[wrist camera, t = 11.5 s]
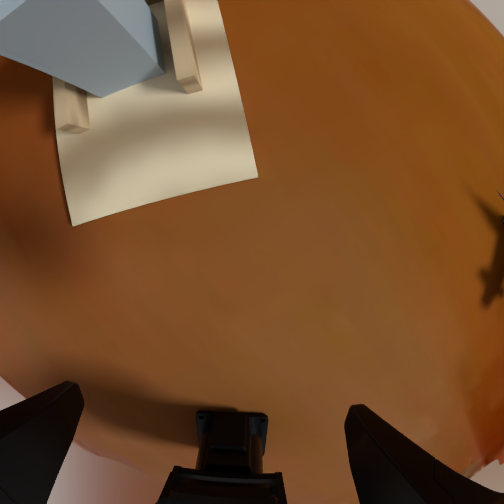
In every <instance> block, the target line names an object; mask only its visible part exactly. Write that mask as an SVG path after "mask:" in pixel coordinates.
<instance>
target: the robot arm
mask: <svg viewBox="0 0 504 504" xmlns="http://www.w3.org/2000/svg"><path fill="white" fill-rule="evenodd" d="M83 408H84V399H83V396H82V393H81V391H80V388H79V385H78V384H77V383H75V382H71V381H65V382H63V383H61V384H58V385H56V386H54V387H52V388H50V389H48V390H46V391H43V392H41V393H39V394H37V395H35V396H32V397H30V398H28V399H26V400H24V401H22V402H19V403H17V404H15V405H12V406H10V407H8V408H6V409H3V410H1V411H0V504H47V501H48V498H49V496H50V493H51V490H52V488H53V485H54V483H55V480H56V478H57V475H58V473H59V470H60V468H61V466H62V463H63V461H64V459H65V456H66V454H67V452H68V450H69V447H70V445H71V443H72V440H73V438H74V435H75V432H76V429H77V426H78V422H79V419H80V416H81V413H82V411H83ZM200 415H201V416H200ZM196 424H197V432H198V440H199V451H198V457H197V462H196V468H195V469H190V468H182V467H181V466H174V468H173V470H172V472H170V474H169V477H168V479H167V481H166V483H165V486H164V488H163V490H162V493H161V495H160V497H159V499H158V501H157V502H156V503H155V504H287V500H286V494H285V489H284V483H283V477H282V472H275V473H263V464H262V456H263V455H264V452H265V444H266V435H267V426H268V416H267V415H265V414H242V413H223V412H210V411H198V412H197V413H196ZM344 429H345V435H346V442H347V449H348V456H349V463H350V468H351V472H352V476H353V480H354V483H355V487H356V491H357V495H358V498H359V502H360V504H504V493H499V492H496V491H493V490H490V489H488V488H486V487H484V486H482V485H480V484H478V483H476V482H474V481H472V480H470V479H468V478H466V477H464V476H463V475H461V474H459V473H457V472H455V471H454V470H452V469H451V468H449V467H448V466H446V465H445V464H443V463H442V462H440V461H439V460H437V459H435V458H434V457H433V456H432V455H430V454H429V453H428V452H426V451H425V450H423V449H422V448H421V447H419V446H418V445H417V444H415V443H414V442H412V441H411V440H410V439H408V438H407V437H406V436H404V435H403V434H402V433H400V432H399V431H398V430H396V429H395V428H394V427H392V426H391V425H390V424H389V423H387V422H386V421H385V420H383V419H382V418H381V417H379V416H378V415H377V414H376V413H374V412H373V411H372V410H370V409H369V408H368V407H367V406H365V405H364V404H356V405H351V406H350V408H349V411H348V414H347V417H346V420H345V424H344Z"/></svg>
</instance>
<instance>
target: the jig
mask: <svg viewBox="0 0 504 504" xmlns="http://www.w3.org/2000/svg"><path fill="white" fill-rule="evenodd" d="M145 2H146V3H147V5H148V6H149V8H150V9H151V11H152V12H153V14H154V16H155V17H156V19H157V20H158V26H159V32H160V39H161V46H162V52H163V59H164V65H165V71H166V74H164V75H161V76H158V77H155V78H152V79H149V80H146V81H144V82H141V83H138V84H135V85H133V86H130V87H127V88H125V89H122V90H120V91H117V92H115V93H113V94H110V95H108V96H106V97H103V98H101V97H98V96H96V95H94V94H92V93H90V92H88V91H86V90H83V89H81V88H79V87H77V86H75V85H72V84H70V83H68V82H66V81H63V80H61V79H59V78H56V77H54V76H53V101H54V115H55V127H56V136H57V145H58V152H59V159H60V166H61V172H62V178H63V183H64V189H65V194H66V198H67V203H68V208H69V212H70V217H71V221H72V225H73V226H76V225H79V224H82V223H85V222H88V221H91V220H95V219H98V218H101V217H104V216H107V215H111V214H114V213H117V212H121V211H124V210H127V209H131V208H134V207H138V206H141V205H145V204H149V203H152V202H156V201H160V200H163V199H167V198H171V197H175V196H179V195H183V194H187V193H191V192H195V191H199V190H203V189H207V188H211V187H216V186H220V185H224V184H229V183H234V182H238V181H243V180H247V179H252V178H257V177H258V173H257V169H256V164H255V159H254V155H253V150H252V146H251V141H250V137H249V132H248V127H247V123H246V119H245V114H244V110H243V105H242V101H241V97H240V92H239V88H238V84H237V79H236V75H235V71H234V66H233V62H232V58H231V54H230V50H229V46H228V41H227V37H226V33H225V29H224V25H223V21H222V17H221V13H220V9H219V5H218V1H217V0H145Z"/></svg>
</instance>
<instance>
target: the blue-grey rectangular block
mask: <svg viewBox="0 0 504 504" xmlns="http://www.w3.org/2000/svg"><path fill="white" fill-rule="evenodd" d="M0 55H1V56H4V57H7V58H9V59H12V60H15V61H17V62H20V63H22V64H25V65H28V66H30V67H33V68H35V69H37V70H40V71H42V72H45V73H47V74H49V75H52V76H54V77H56V78H59V79H61V80H63V81H66V82H68V83H70V84H72V85H75V86H77V87H79V88H81V89H83V90H86V91H88V92H90V93H92V94H94V95H96V96H98V97H101V98H103V97H106V96H108V95H110V94H113V93H115V92H117V91H120V90H122V89H125V88H127V87H130V86H133V85H135V84H138V83H141V82H144V81H146V80H149V79H152V78H155V77H158V76H161V75H164V74H166V71H165V65H164V59H163V52H162V46H161V39H160V32H159V26H158V20H157V19H156V17H155V16H154V14H153V12H152V11H151V9H150V8H149V6H148V5H147V3H146V2H145V0H0Z"/></svg>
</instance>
